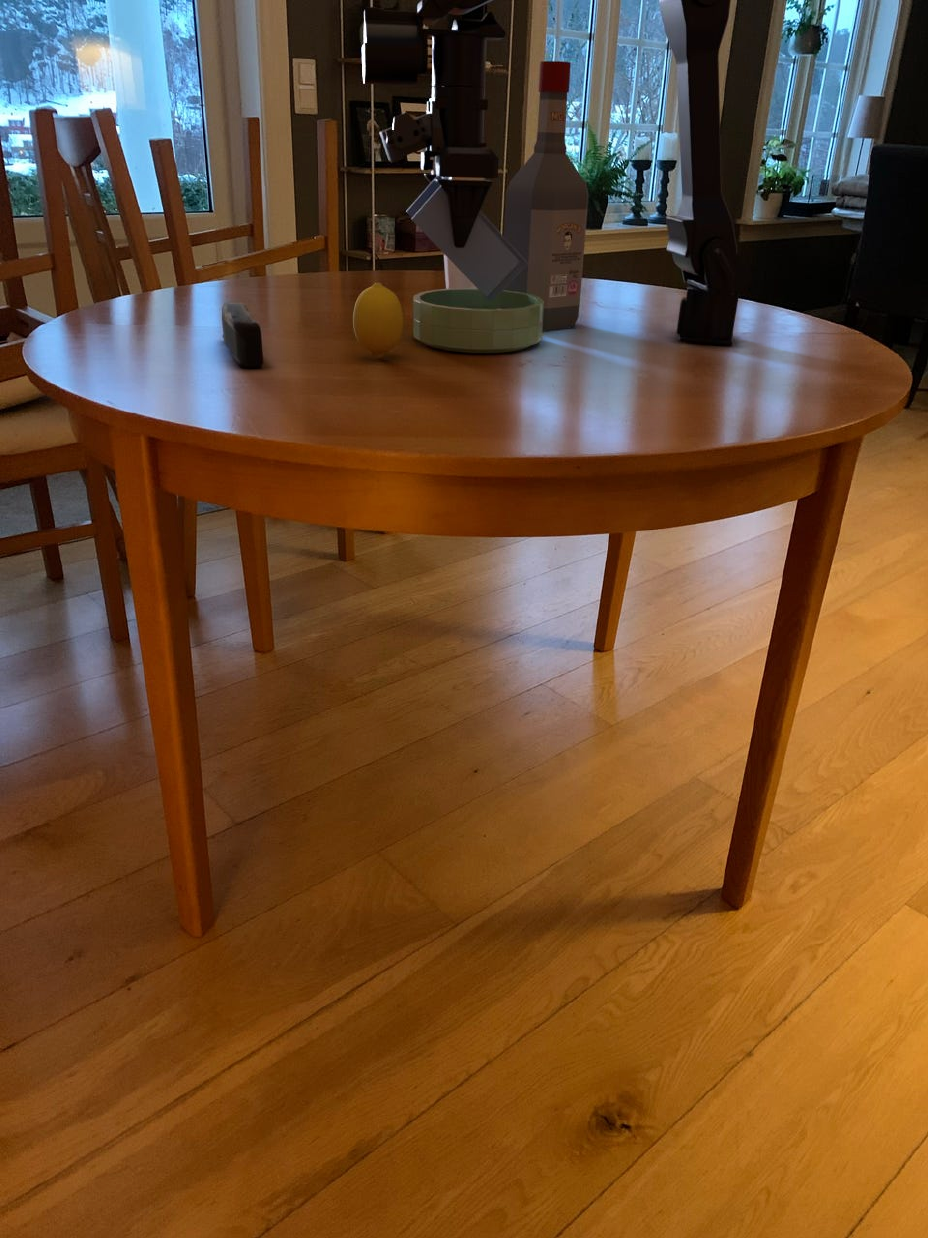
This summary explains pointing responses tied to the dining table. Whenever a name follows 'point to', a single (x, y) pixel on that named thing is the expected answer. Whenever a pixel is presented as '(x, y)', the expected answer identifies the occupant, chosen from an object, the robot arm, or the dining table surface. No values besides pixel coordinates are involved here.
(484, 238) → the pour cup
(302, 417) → the dining table surface
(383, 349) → the lemon
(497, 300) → the bowl
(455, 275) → the white cup
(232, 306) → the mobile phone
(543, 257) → the liquor
